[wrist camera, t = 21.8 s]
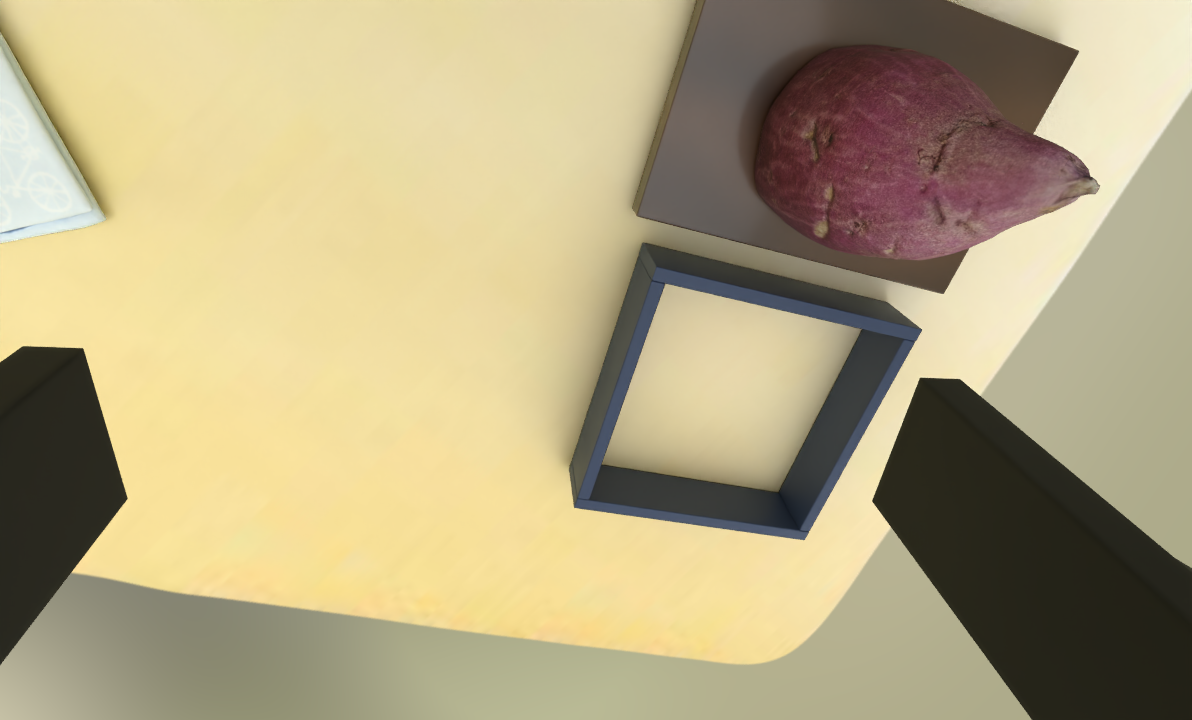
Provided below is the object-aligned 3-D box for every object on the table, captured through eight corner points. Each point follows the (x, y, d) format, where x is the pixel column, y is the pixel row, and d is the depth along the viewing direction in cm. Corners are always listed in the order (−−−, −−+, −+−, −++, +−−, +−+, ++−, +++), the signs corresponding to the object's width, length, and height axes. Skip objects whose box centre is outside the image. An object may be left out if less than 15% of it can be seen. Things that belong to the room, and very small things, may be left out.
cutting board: (720, -79, 30) (730, -83, 29) (1059, 49, 35) (1080, 50, 34) (631, 208, 37) (636, 216, 35) (930, 285, 41) (943, 294, 40)
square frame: (642, 242, 38) (656, 266, 34) (887, 302, 41) (922, 329, 38) (568, 468, 45) (573, 508, 41) (783, 502, 49) (804, 540, 45)
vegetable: (890, 22, 35) (1222, -69, 21) (917, 207, 39) (1212, 230, 25) (722, 86, 33) (968, 32, 19) (768, 274, 37) (1000, 339, 23)
